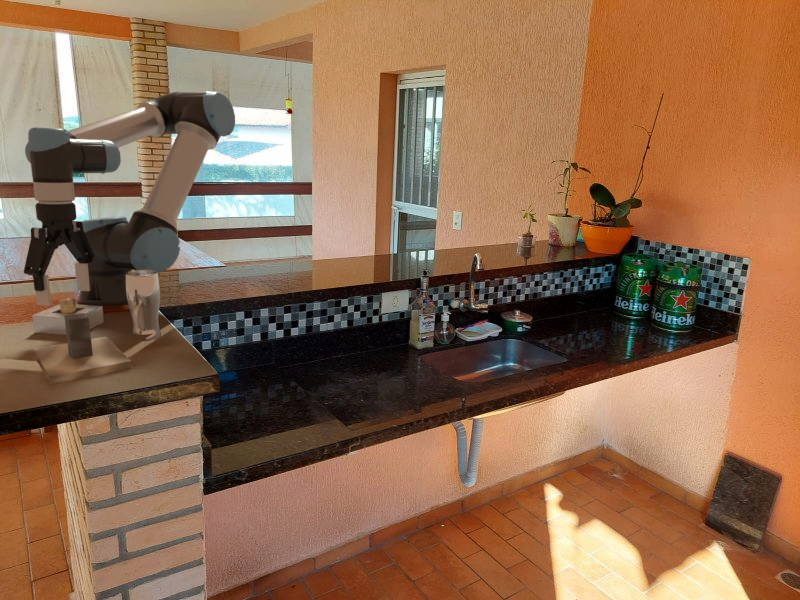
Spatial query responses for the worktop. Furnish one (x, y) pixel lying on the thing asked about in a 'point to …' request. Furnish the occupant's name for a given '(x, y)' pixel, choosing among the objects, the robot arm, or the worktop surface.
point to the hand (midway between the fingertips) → (65, 297)
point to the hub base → (81, 365)
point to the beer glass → (144, 302)
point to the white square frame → (55, 320)
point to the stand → (67, 306)
